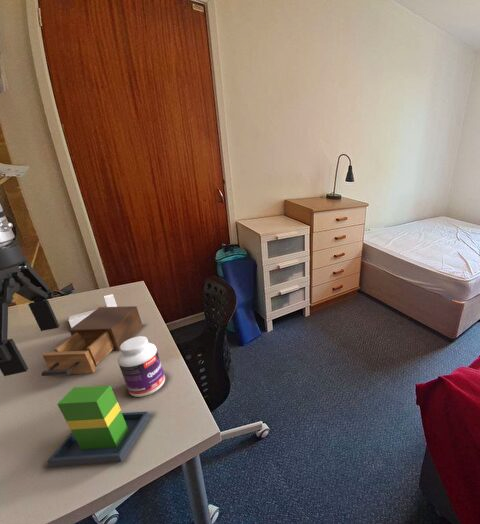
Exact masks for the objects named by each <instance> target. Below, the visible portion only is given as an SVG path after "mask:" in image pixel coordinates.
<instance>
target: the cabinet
mask: <svg viewBox="0 0 480 524" xmlns="http://www.w3.org/2000/svg"><path fill="white" fill-rule="evenodd" d="M96 309H97V310H95V309H94V310H95V311H94V312H93V313H91V314H90V315H89V316H87V317H86V318H84V319H83V320H82V321H80V322H79V323H78V324H76V325H75V326H74V327H72V328H71V327H70V328H69V329H68V332H69V333H70V337H71V336H72V335H73V334H74V333H76V332H93V331H109V332H110V334H111V337H112V340H113V342H114V345H115V348H114V349H113V350H112V351H111V352H117V351H121V349H120V346H121V344H122V343H123V342H125V341H126V340H128V339H130V338H133V337H135V335H136V334H137V333H138V332H139V331H140V330H141V329H142V328H143V323H142V319H141V316H140V313H139V310H138V306H136V305H135V306H133V305H132V306H117V307H106V306H100V307H98V308H96Z"/></svg>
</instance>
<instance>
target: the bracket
mask: <svg viewBox="0 0 480 524" xmlns="http://www.w3.org/2000/svg"><path fill="white" fill-rule="evenodd" d="M103 297H104V298H103V299H104V301H105V304H106V306H105V307H118V304H117V301H116V299H115V296H114V294H113V293H110V294H106V295H103ZM97 309H98V308H95V309H92V310H88V311H84V312H81V313H76V314H73V315H70V316H69V317H68V323H69V325H70V329H71V328H72V327H74V326H75V325H76V324H78V323H79V322H80V321H82V320H83V319H84V318H86V317H87V316H89V315H90V314H91V313H93V312H94V311H95V310H97Z"/></svg>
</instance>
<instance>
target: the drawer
mask: <svg viewBox="0 0 480 524" xmlns="http://www.w3.org/2000/svg"><path fill="white" fill-rule="evenodd" d="M114 348H115V345H114V342H113V340H112V337H111V334H110V332H109V331H93V332H76V333H74V334H73V335H72V336H71V335H70V336H69V337H68V338H66V339H65V340H64V341H62V343H60V344H59V345H58V346H57V347H54V348H53V351H46V352H45V353H43V354H42V358H43V360H44V362H45V363H46V365H47V368H48V369H47V370H43V371H42V372H41V376H42V377H58V376H70V375H77V374H94V373H95V372H96V371H97V368H96V366H98V365H99V364H100V363H101V362H102V361H103V360H105V359H106V357H107V356H109V354H110V353H111V352H113V351H112V350H113V349H114Z"/></svg>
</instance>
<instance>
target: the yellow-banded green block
mask: <svg viewBox="0 0 480 524" xmlns="http://www.w3.org/2000/svg"><path fill="white" fill-rule="evenodd" d="M57 406H58V408H59V410H60V412H61V414H62V416H63V418H64V420H65V423H66V425H67V427H68V429H69V430H70V431H71V433H73V435H74V437H75V439H76V440H77V442H78V444H79V446H80V448H81V450H86V449H100V448H114V447H117V446H118V445H119V443H120V442H121V440H122V439H123V437H124V436H125V434H126V433H127V431H128V427H127V425H126V422H125V420H124V418H123V415H122V413H123V412H122V409H121V407H120V404H119V402H118V401H117V398H116V395H115V393H114V391H113V389H112V386H111V385H94V386H93V385H92V386H75V387H72V389H71V390H69V392H68V393H67V394H66V395H64V396H63V398H62V399H61V400H59V401H58V402H57Z"/></svg>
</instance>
